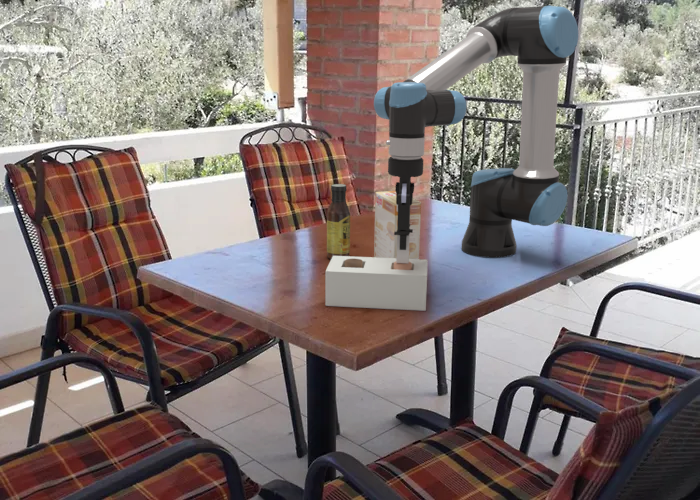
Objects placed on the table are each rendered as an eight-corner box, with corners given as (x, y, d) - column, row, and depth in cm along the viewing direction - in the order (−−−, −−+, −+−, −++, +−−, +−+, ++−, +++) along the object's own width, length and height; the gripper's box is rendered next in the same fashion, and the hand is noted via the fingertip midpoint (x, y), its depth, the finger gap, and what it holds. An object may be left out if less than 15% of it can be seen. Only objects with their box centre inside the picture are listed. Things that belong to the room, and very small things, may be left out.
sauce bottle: (347, 261, 188) (347, 188, 183) (324, 260, 189) (324, 187, 184) (352, 255, 194) (352, 183, 189) (329, 253, 196) (329, 182, 190)
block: (426, 292, 165) (427, 259, 163) (425, 310, 154) (427, 275, 152) (332, 288, 168) (333, 255, 166) (325, 305, 156) (325, 271, 154)
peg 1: (362, 292, 163) (363, 258, 161) (361, 298, 159) (361, 264, 157) (345, 291, 163) (345, 258, 161) (343, 297, 160) (343, 263, 157)
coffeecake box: (419, 279, 175) (422, 201, 169) (392, 281, 173) (394, 203, 167) (398, 262, 189) (400, 190, 183) (372, 264, 187) (374, 191, 181)
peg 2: (410, 294, 162) (411, 261, 160) (410, 300, 158) (411, 266, 156) (393, 293, 162) (394, 260, 160) (392, 299, 158) (393, 265, 156)
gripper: (390, 151, 158) (387, 253, 164) (386, 160, 145) (383, 270, 152) (424, 152, 157) (420, 254, 164) (423, 161, 145) (418, 272, 151)
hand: (402, 262), depth 158 cm, fingers closed
